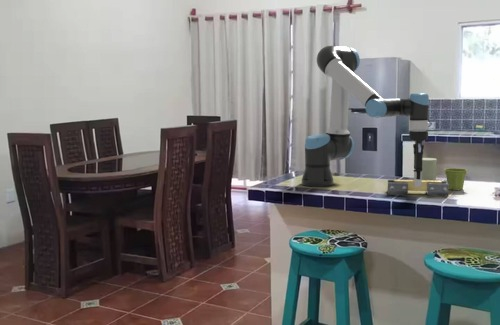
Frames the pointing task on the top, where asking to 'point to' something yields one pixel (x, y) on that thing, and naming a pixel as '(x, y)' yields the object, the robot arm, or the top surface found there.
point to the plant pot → (455, 178)
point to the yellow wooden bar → (412, 187)
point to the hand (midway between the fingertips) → (417, 185)
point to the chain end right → (438, 189)
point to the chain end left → (397, 188)
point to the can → (429, 168)
